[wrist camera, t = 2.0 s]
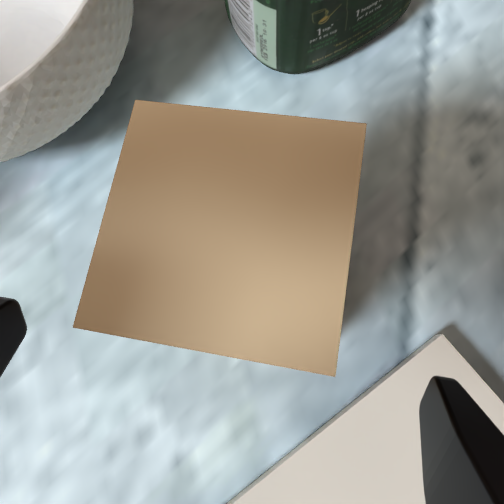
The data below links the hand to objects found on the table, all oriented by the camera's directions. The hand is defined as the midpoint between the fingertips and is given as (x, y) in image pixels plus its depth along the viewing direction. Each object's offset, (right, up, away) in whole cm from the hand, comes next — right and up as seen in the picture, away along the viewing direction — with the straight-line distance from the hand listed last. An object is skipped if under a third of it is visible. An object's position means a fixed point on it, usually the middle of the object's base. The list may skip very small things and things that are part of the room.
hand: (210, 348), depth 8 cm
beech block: (+1, 0, +10) cm, 10 cm away
